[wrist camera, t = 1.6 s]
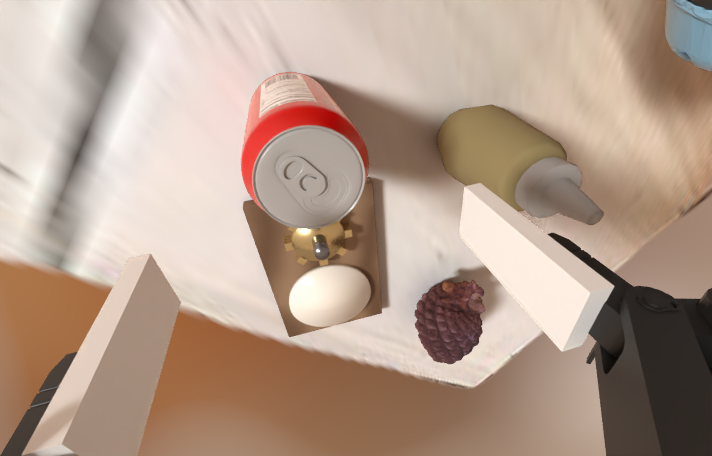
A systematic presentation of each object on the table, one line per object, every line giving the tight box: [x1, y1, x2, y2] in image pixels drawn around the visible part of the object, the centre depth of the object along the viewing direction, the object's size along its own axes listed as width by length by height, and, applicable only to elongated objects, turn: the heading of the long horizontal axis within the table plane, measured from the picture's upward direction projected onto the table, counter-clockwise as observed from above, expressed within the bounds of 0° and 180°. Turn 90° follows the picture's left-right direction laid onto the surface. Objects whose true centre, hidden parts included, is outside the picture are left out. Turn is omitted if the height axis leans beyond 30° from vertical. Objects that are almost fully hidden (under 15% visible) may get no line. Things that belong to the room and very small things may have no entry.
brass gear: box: [284, 219, 352, 266], centre depth 35 cm, size 8×8×4 cm
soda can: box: [241, 72, 369, 229], centre depth 24 cm, size 8×8×15 cm
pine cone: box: [415, 280, 485, 364], centre depth 47 cm, size 18×10×10 cm, turn 177°
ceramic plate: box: [289, 263, 371, 327], centre depth 42 cm, size 11×11×1 cm
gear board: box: [243, 177, 382, 337], centre depth 40 cm, size 14×22×2 cm, turn 7°
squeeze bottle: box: [437, 105, 604, 225], centre depth 28 cm, size 8×8×18 cm
